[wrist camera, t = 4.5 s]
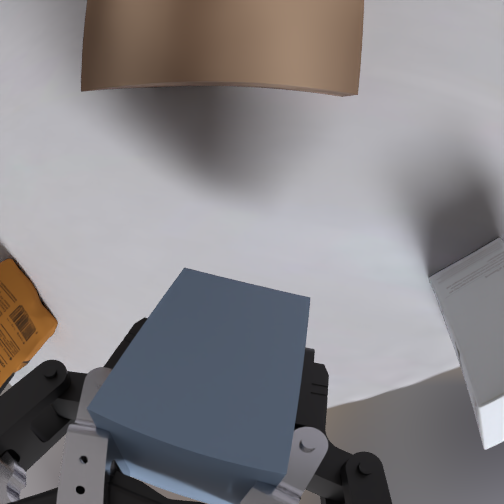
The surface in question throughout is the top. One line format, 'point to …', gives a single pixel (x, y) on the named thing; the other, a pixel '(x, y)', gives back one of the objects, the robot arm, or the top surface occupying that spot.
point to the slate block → (209, 388)
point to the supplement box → (478, 331)
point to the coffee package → (20, 320)
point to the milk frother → (6, 383)
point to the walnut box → (224, 44)
